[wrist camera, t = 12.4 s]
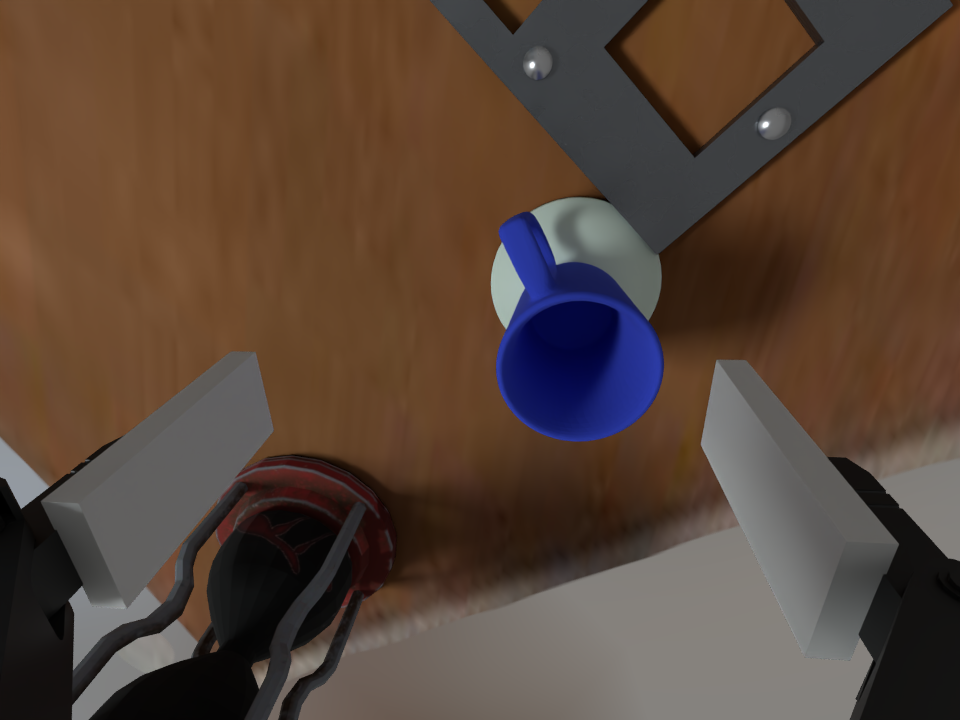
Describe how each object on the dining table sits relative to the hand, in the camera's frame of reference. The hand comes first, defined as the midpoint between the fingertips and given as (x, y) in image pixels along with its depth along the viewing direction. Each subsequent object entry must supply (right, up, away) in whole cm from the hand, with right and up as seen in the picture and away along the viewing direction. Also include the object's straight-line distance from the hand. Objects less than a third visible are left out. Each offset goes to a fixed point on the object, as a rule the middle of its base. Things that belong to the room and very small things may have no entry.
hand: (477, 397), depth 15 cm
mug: (+5, +6, +19) cm, 21 cm away
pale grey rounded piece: (+6, +6, +20) cm, 22 cm away
